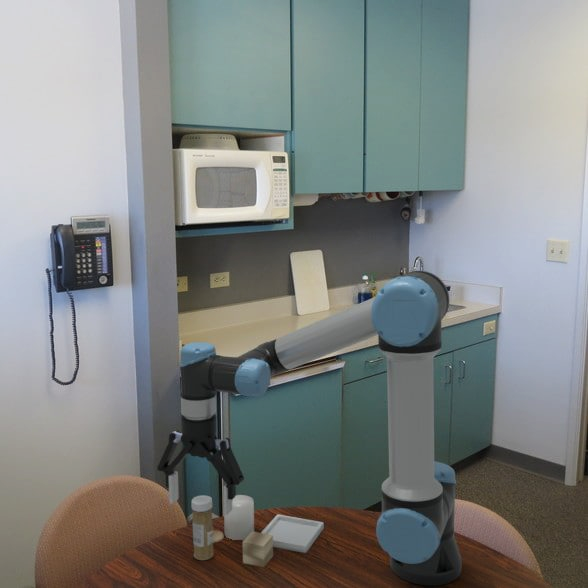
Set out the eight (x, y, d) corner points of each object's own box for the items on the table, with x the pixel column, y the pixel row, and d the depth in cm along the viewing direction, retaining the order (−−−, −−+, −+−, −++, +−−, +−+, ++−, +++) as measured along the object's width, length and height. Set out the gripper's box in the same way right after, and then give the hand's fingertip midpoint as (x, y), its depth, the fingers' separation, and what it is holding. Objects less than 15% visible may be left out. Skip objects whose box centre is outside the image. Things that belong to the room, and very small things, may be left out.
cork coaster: (226, 534, 164) (226, 531, 164) (219, 544, 159) (219, 541, 159) (206, 532, 165) (206, 529, 165) (199, 543, 160) (199, 539, 160)
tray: (323, 528, 166) (323, 522, 166) (305, 553, 155) (305, 546, 155) (277, 520, 170) (277, 514, 170) (257, 543, 159) (257, 537, 159)
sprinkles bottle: (217, 557, 154) (215, 500, 152) (198, 563, 151) (196, 505, 149) (208, 548, 157) (206, 492, 155) (189, 554, 155) (187, 497, 153)
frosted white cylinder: (246, 542, 160) (245, 510, 158) (219, 537, 162) (218, 505, 161) (261, 526, 167) (260, 495, 166) (235, 521, 170) (234, 491, 169)
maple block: (273, 556, 154) (272, 535, 153) (263, 567, 149) (263, 546, 149) (252, 552, 156) (252, 531, 155) (243, 563, 151) (242, 541, 150)
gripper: (258, 416, 148) (259, 509, 152) (158, 402, 157) (161, 490, 161) (243, 427, 141) (244, 524, 145) (139, 412, 150) (142, 504, 154)
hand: (200, 506), depth 153 cm, fingers open, 13 cm apart
